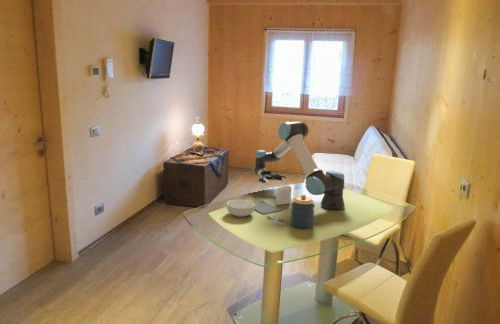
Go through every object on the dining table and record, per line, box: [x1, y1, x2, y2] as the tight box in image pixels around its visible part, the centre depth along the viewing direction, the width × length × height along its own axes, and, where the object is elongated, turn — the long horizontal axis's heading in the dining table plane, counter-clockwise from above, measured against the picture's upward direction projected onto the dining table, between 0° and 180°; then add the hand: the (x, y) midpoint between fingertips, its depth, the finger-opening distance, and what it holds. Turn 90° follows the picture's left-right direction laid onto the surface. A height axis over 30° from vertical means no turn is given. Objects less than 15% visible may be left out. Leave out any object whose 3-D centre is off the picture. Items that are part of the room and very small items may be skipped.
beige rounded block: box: [275, 184, 292, 206], centre depth 252 cm, size 10×4×12 cm, turn 123°
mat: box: [253, 200, 283, 215], centre depth 243 cm, size 20×15×1 cm
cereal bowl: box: [226, 199, 255, 218], centre depth 228 cm, size 17×17×7 cm
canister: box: [289, 194, 315, 230], centre depth 215 cm, size 13×13×18 cm
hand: (277, 182), depth 260 cm, fingers open, 13 cm apart
